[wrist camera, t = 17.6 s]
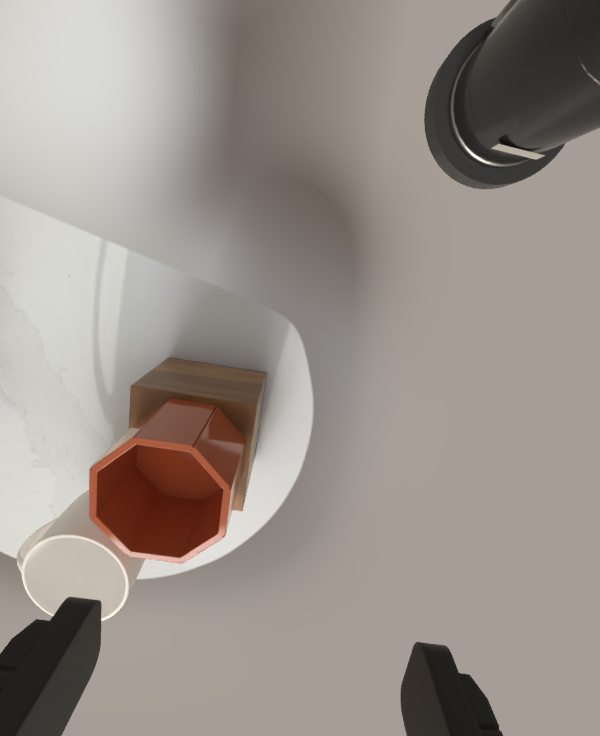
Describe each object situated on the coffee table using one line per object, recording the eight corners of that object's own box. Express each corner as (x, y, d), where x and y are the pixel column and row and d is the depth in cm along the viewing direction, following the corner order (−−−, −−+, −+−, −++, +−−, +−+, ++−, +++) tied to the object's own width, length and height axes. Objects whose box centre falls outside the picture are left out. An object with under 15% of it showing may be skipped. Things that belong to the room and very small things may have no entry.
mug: (164, 456, 42) (113, 531, 30) (181, 525, 44) (139, 619, 33) (60, 467, 42) (-31, 546, 31) (82, 535, 45) (5, 631, 33)
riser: (168, 357, 39) (130, 385, 30) (266, 372, 39) (257, 404, 31) (162, 446, 41) (125, 495, 33) (254, 459, 42) (242, 511, 33)
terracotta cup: (136, 392, 30) (89, 430, 24) (250, 409, 31) (236, 451, 24) (131, 491, 33) (87, 551, 26) (237, 506, 33) (220, 569, 26)
